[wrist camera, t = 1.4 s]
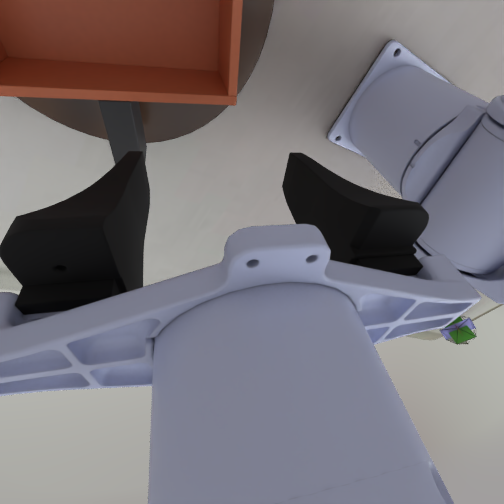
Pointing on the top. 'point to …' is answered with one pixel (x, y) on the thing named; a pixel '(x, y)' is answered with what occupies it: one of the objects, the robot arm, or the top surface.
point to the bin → (121, 56)
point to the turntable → (167, 114)
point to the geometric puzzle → (459, 331)
